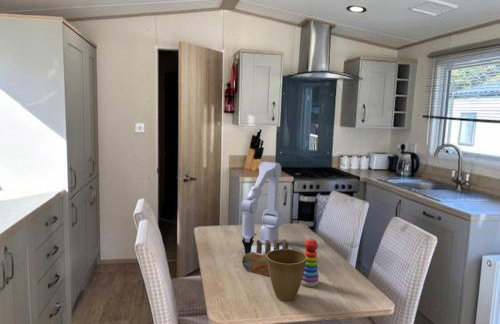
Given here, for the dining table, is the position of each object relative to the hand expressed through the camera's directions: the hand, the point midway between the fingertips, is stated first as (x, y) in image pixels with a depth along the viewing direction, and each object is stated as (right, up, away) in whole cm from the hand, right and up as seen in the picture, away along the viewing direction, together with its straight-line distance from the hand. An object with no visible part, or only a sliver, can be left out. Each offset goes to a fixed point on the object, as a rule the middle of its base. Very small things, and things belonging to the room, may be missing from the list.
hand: (247, 251), depth 181 cm
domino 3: (+10, -2, +2) cm, 10 cm away
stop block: (+24, -2, +5) cm, 25 cm away
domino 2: (+5, -2, +1) cm, 6 cm away
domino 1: (0, -2, 0) cm, 2 cm away
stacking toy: (+25, -7, -27) cm, 37 cm away
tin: (+5, -5, -18) cm, 19 cm away
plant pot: (+14, -8, -39) cm, 42 cm away
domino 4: (+14, -2, +3) cm, 14 cm away
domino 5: (+18, -2, +3) cm, 18 cm away
